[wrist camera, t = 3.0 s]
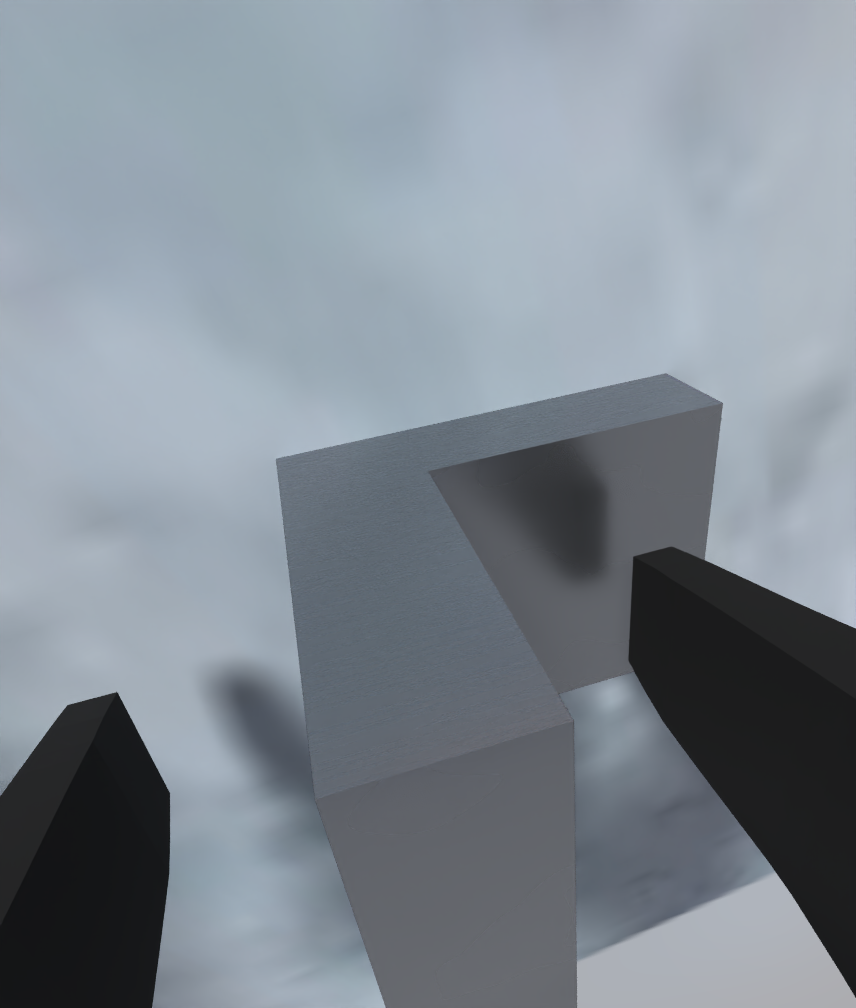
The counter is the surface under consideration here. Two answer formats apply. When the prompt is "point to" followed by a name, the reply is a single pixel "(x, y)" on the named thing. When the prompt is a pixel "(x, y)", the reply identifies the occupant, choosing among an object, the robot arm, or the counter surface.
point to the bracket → (477, 664)
